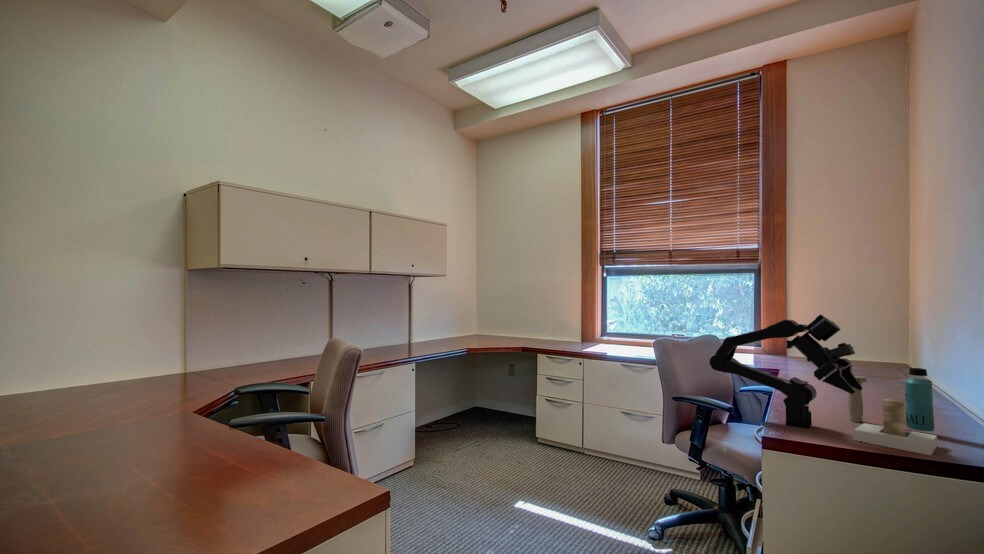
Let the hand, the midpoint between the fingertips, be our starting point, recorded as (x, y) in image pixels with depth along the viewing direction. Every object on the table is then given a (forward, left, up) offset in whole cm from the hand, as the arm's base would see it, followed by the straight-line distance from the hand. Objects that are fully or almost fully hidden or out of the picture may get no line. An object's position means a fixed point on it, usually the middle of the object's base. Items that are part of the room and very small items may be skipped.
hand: (857, 391), depth 133 cm
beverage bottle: (+16, +16, -14) cm, 26 cm away
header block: (+8, -2, -13) cm, 16 cm away
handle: (+1, +22, -14) cm, 26 cm away
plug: (+8, -2, -13) cm, 16 cm away
